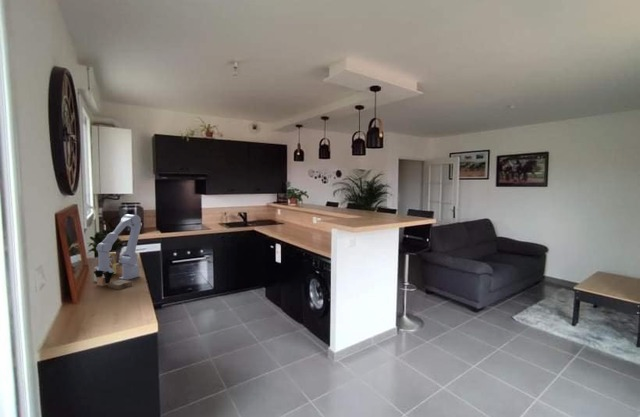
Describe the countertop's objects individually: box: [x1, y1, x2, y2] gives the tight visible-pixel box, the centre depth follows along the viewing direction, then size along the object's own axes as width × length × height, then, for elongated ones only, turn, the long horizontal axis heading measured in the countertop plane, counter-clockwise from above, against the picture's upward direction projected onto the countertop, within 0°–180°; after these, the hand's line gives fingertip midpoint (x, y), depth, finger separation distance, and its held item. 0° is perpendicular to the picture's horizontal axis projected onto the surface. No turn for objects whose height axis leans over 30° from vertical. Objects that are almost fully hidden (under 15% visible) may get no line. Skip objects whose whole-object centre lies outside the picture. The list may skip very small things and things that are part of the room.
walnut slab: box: [107, 279, 133, 290], centre depth 191 cm, size 9×9×3 cm
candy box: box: [103, 251, 117, 275], centre depth 216 cm, size 9×4×15 cm, turn 129°
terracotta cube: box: [96, 276, 108, 287], centre depth 193 cm, size 5×5×5 cm
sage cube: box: [93, 273, 104, 283], centre depth 200 cm, size 5×5×5 cm
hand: (103, 282), depth 193 cm, fingers open, 7 cm apart
